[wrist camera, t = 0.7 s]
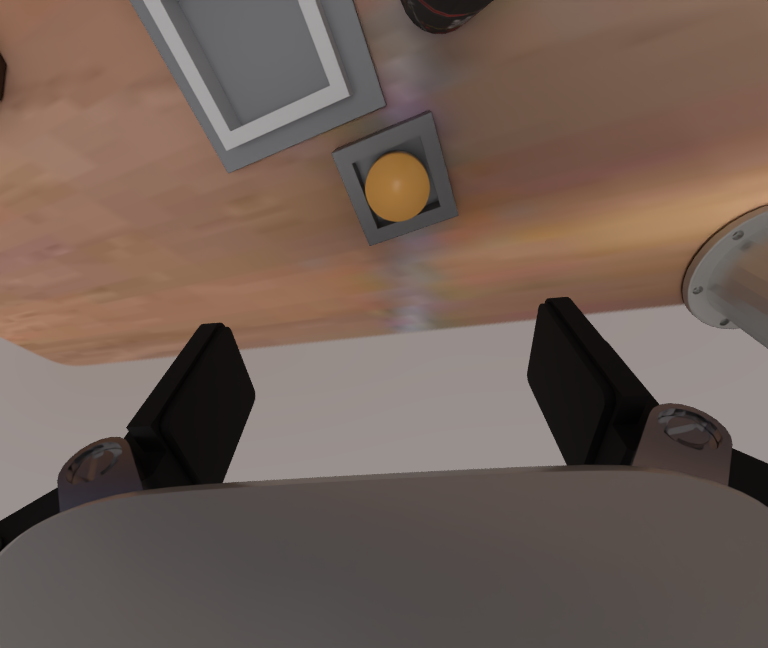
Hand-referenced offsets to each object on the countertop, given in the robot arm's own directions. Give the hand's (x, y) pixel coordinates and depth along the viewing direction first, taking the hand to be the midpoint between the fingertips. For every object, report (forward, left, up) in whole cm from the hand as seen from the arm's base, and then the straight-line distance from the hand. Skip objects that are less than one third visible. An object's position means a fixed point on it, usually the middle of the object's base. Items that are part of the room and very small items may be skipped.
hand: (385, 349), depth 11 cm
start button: (0, 0, -23) cm, 23 cm away
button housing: (0, 0, -24) cm, 24 cm away
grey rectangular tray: (+6, -12, -24) cm, 27 cm away
